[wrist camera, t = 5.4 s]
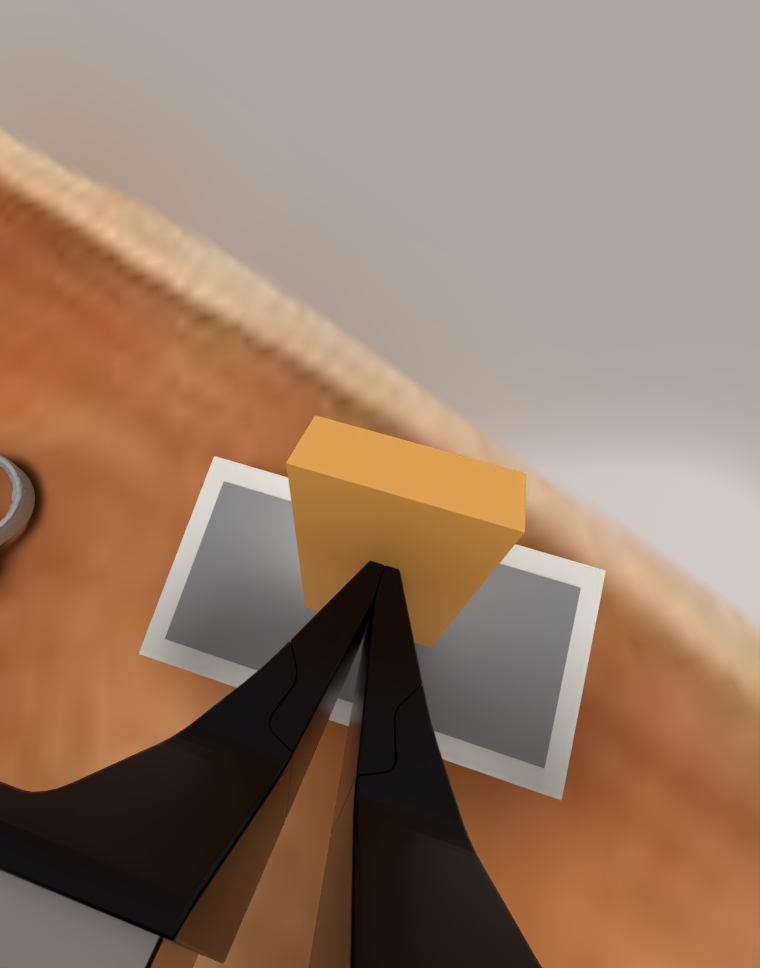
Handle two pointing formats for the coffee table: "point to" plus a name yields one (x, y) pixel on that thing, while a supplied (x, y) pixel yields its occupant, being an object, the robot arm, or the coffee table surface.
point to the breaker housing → (282, 614)
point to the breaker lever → (400, 518)
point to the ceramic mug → (16, 501)
